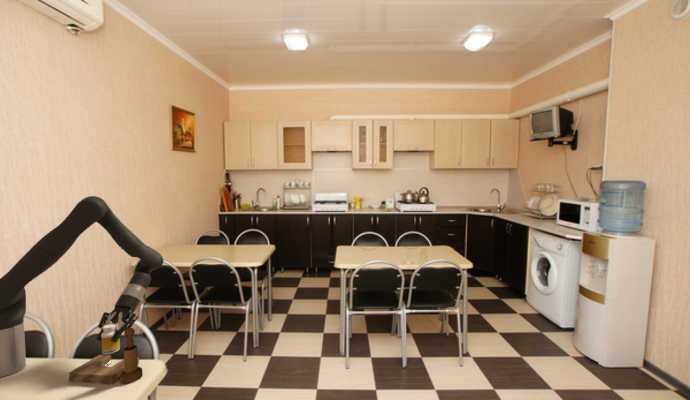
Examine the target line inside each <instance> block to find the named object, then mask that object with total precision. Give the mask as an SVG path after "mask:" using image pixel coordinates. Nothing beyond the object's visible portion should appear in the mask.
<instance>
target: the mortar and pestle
mask: <svg viewBox="0 0 690 400" xmlns="http://www.w3.org/2000/svg"><path fill="white" fill-rule="evenodd" d="M135 331H136V330H135V329H134V328H133V327H131V328H128V329H126V331H124V332H123V333H124V336H125V338H127V340H126V341H125V344H126V347H124V348H123V359H124V371H123V372H122V373H121V374H120V379H119V382H120V384H124V385H128V384H131V383H134V382H137V381H139V380H140V379H141V378H143V376H144V375H143V368H142V367H140V366H139V365H138V364H137V357H138V346H137V345H136V344H134V343H135V340H134V339H133V337H134V336H135V333H136V332H135Z"/></svg>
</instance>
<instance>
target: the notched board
mask: <svg viewBox="0 0 690 400" xmlns="http://www.w3.org/2000/svg"><path fill="white" fill-rule="evenodd" d="M110 360H111V361H112V354H99V355H96V356H94V357H93V358H92V359H89V360H88V361H86V362H85V363H83V364H81V365H79V366H78V367H76V368H74V369H73V370H70V371H69V372H68V382H74V383H76V382H77V383H87V384H88V383H89V384H102V385H113V384H114V383H116V382H117V381H120V374H121V373H122V372H123V371H124V358H122V359H121V360H119V361H118V362H116V363H114V364H113V365H112V366H105V365H106V364H107V363H108V362H109V361H110ZM137 364H139V365H140V357H139V356H137Z"/></svg>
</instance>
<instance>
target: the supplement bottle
mask: <svg viewBox="0 0 690 400" xmlns="http://www.w3.org/2000/svg"><path fill="white" fill-rule="evenodd" d="M117 329H118V325H117V324H108V325H105V326H104V327H103V331H104V332H103V333H102V335H101V340H102V342H101V353H102V355H112V354H115V353H116V352H118V351H120V348H121V342H120V341H121V340H120V338H121V337H120V338H119V340H118V341H117V342H112V341H111V339H112V337H113V335H114V333H115V332H116V330H117Z"/></svg>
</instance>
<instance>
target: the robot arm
mask: <svg viewBox="0 0 690 400" xmlns="http://www.w3.org/2000/svg"><path fill="white" fill-rule="evenodd" d="M95 223H97V224H99V225H100V226H101V228H103V229H104V230H105V231H106V233H108V234H109V236H110V237H111V239H112V240H113V241H114V242H115V243H116V245H117V246H118V247H119V248H120V249H121V250H123V251H124V252H125V253H126V254H127V255H128V256H129V257H131V258H137V259H139V260H138V262H137V264H136V266H135V268H134V272H133V275H132V277H130V280H129V281H128V283H127V284H126V286H125V287H124V289H123V291H122V292H121V294H120V296H119V297H118V298H117V301H116V302H115V304H114V309H113V310H112V311H111V312H107V311H105V312H104V313H102V316H101V317H100V320H99V322H98V326H97V328H98V329H100V331H99V333H98V335H97V336H96V341H98V342H100V343H102V340H101V335H102V333H103V332H104V331H103V327H104V326H105V325H108V324H116V325H117V328H116V329H117V330H116V332H115V333H114V335H113V337H112V339H111V341H112V342H117V341H118V340H119V338H121V337H122V334H123V333H125V331H126V329H128V328H133V325H134V324H135V323H136V321H137V320H138V318H139V315H138V314H136V313H134V312H136V310H137V309H138V306H139V305H140V303H141V302H142V299H143V297H144V295H145V293H146V290H147V288H148V287H149V285H150V283H151V280H152V276H151V273H152V271H155V270H158V269H160V268H161V267H163V265H164V257H163V256H162V254H161V253H160V252H159V251H157V250H155V249H153V248H152V247H150V246H148V245H147V244H145V243H144V242H143V241H142V240H141V239H140V238H139V237H137V236H138V235H135V233H134V232H133V231H131V230H130V229H129V228H128V227H127V226H126V225H125V224H124V223H123V222H122V221H121V220H120V219H119V218H118V216H116V214H115V213H114V212H113V210H111V208H110V206H109V205H108V204H107V202H106V201H105V200H104V199H103V198H101V197H99V196H95V195H89V196H86V197H84V198H82V199H81V200H80V201H79V202H77V203H76V205H75V206H74V207H73V209H72V210H71V211H70V212H69V214H68V215H67V216H66V217H65V218H64V219H63V221H62V222H61V223H59V224H58V225H57V226H56V227H54V228H52V229H51V230H50V231H49V232H48V233H46V234H45V235H44V236H42V237H41V238H40V239H39V240H38V241H37V242H36V243H35V244H34V245H33V246H32V247H31V248H30V249H29V250H28V251H27V252H26V253H25V254H24V255H23V256H22V257H21V258H20V259H19V260H18V261H17V262H16V263H15V264H14V265H13V266H12V267H11V268H10V269H9V271H8V272H7V273H5V274H4V275H2V276H1V277H0V378H2V377H7V376H10V375H13V374H15V373H18V372H20V371H21V370H23V369H24V367H25V368H26V366H27V360H26V359H27V358H26V342H25V341H26V340H25V321H24V317H25V315H26V311H27V293H26V289H25V287H26V286H28V285H29V283H31V282H32V281H33V280H34V279H36V278H37V277H39V276H40V275H42V274H43V273H45V272H46V271H47V270H49V269H50V268H51V267H52V266H54V265H55V264H56V263H57V262H58V261H60V260H61V258H62V257H63V256H64V255H65V254H66V253H67V252H68V251H69V250H70V249H71V247H72V246H73V245H74V243H75V242H76V240H77V239H78V238H79V237H80V236H81V235H82V234H83V233H84V232H85V231H87V229H89V228H90V227H91V226H93V225H94V224H95Z"/></svg>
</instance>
